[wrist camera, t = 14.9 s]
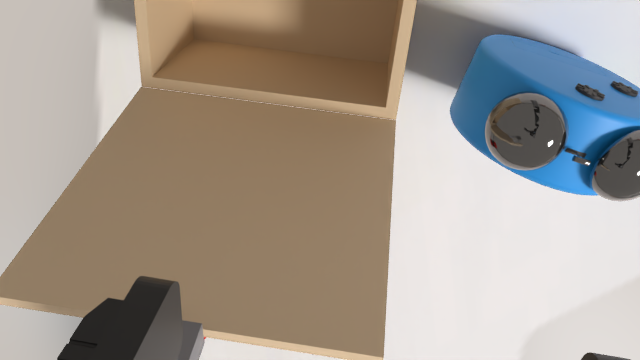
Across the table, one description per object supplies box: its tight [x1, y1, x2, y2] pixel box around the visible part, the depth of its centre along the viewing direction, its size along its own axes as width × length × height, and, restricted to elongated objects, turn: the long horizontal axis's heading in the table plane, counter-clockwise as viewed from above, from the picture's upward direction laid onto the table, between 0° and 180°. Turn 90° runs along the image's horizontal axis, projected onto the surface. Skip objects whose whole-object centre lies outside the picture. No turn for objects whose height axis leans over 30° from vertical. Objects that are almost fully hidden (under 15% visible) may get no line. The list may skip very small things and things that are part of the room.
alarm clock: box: [450, 35, 640, 201], centre depth 38 cm, size 13×6×15 cm, turn 74°
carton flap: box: [0, 87, 396, 360], centre depth 29 cm, size 24×18×2 cm
